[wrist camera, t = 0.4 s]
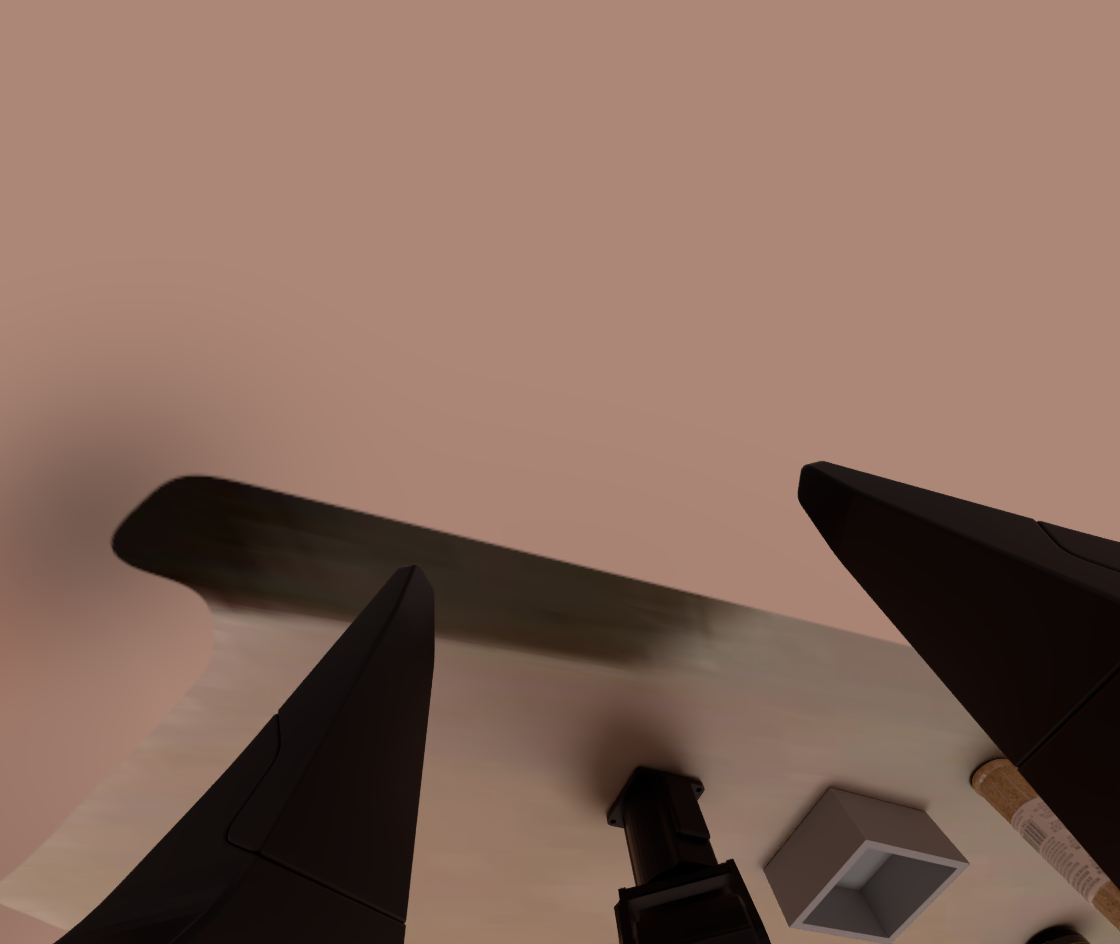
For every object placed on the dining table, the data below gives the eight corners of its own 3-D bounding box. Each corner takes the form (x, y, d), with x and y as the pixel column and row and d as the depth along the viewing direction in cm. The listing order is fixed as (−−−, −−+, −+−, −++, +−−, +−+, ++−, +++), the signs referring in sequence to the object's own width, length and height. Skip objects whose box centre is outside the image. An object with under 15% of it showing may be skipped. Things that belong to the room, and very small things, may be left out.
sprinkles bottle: (1000, 792, 38) (1240, 1017, 25) (959, 789, 37) (1185, 1019, 25) (1024, 756, 37) (1290, 974, 24) (983, 753, 36) (1233, 975, 23)
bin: (856, 889, 41) (890, 944, 37) (763, 870, 39) (789, 927, 35) (925, 812, 38) (970, 863, 34) (829, 787, 36) (866, 839, 32)
